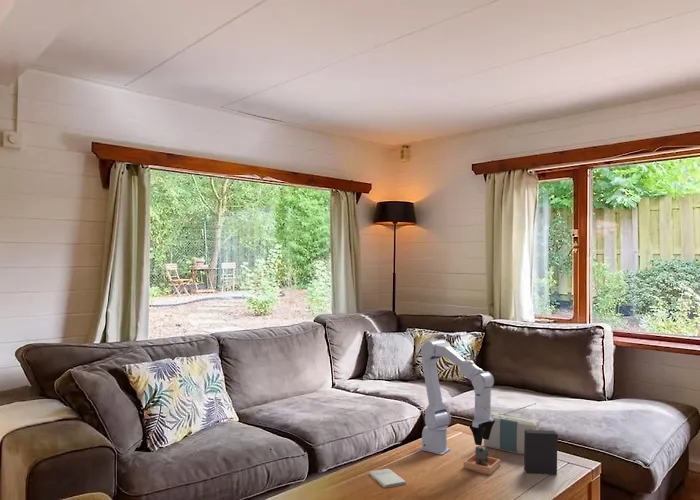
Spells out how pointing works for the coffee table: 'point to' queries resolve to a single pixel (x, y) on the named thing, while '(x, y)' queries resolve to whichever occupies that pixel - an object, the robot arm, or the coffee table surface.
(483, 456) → the cell
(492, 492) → the coffee table surface
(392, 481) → the external hard drive
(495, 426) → the stereo radio cassette player
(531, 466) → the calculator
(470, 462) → the dish
